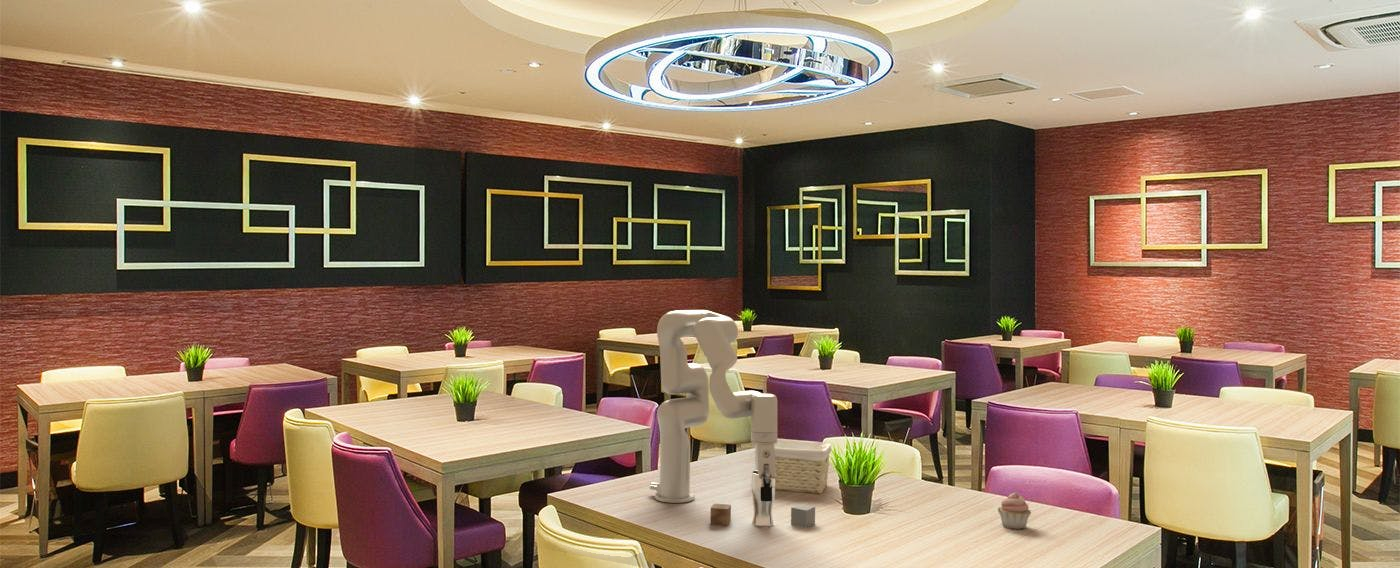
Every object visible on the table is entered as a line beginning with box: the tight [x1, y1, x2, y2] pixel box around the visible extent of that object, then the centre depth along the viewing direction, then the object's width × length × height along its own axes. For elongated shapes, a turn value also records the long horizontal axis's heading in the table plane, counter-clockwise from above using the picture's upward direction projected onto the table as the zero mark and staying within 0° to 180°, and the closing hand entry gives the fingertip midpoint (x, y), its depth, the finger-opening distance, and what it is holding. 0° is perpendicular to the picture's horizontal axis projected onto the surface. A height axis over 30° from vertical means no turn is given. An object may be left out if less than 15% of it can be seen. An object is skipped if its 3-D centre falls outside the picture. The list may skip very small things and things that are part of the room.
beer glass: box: [750, 469, 776, 528], centre depth 262 cm, size 7×7×15 cm
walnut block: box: [709, 503, 732, 527], centre depth 262 cm, size 5×5×5 cm
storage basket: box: [774, 438, 832, 494], centre depth 308 cm, size 24×16×15 cm
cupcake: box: [997, 492, 1032, 530], centre depth 263 cm, size 9×9×10 cm
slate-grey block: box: [790, 503, 816, 529], centre depth 263 cm, size 5×5×5 cm
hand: (764, 496), depth 261 cm, fingers open, 9 cm apart
